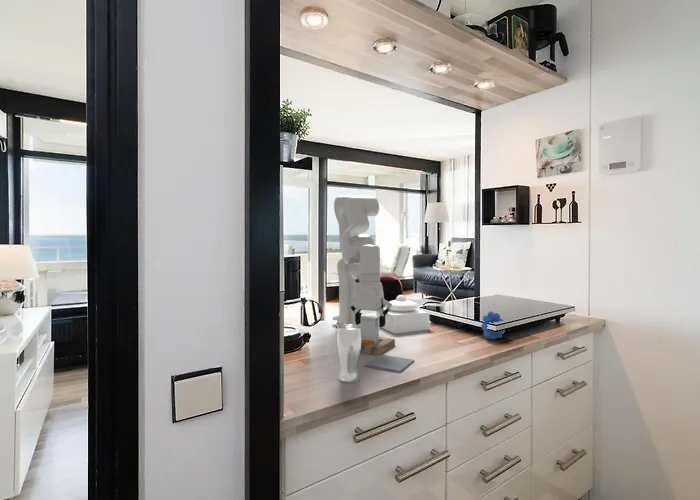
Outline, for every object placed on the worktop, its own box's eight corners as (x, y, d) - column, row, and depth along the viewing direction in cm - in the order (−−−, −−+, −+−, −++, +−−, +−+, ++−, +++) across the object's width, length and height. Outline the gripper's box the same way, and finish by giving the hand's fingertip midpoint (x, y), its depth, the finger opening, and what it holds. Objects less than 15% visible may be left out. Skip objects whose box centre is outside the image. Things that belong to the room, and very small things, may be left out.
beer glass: (341, 373, 110) (341, 323, 109) (363, 376, 108) (363, 324, 107) (333, 382, 103) (333, 328, 103) (357, 384, 101) (357, 330, 101)
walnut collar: (343, 350, 133) (343, 342, 133) (362, 342, 145) (362, 334, 145) (378, 356, 126) (378, 348, 126) (394, 347, 138) (394, 339, 138)
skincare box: (359, 349, 135) (359, 317, 135) (363, 346, 139) (363, 314, 139) (375, 351, 133) (375, 318, 132) (379, 348, 137) (379, 316, 136)
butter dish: (429, 332, 162) (429, 296, 162) (393, 336, 156) (393, 298, 155) (409, 324, 179) (409, 291, 178) (375, 327, 172) (375, 293, 172)
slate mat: (364, 367, 115) (364, 364, 115) (381, 357, 126) (381, 354, 126) (399, 374, 109) (399, 370, 109) (414, 362, 120) (414, 359, 119)
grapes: (490, 345, 140) (490, 314, 140) (477, 341, 146) (477, 311, 146) (512, 342, 145) (512, 311, 145) (499, 338, 151) (499, 309, 151)
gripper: (344, 278, 136) (344, 325, 136) (386, 280, 128) (387, 329, 127) (354, 277, 143) (354, 321, 143) (395, 278, 134) (396, 325, 134)
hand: (370, 325), depth 135 cm, fingers open, 9 cm apart
